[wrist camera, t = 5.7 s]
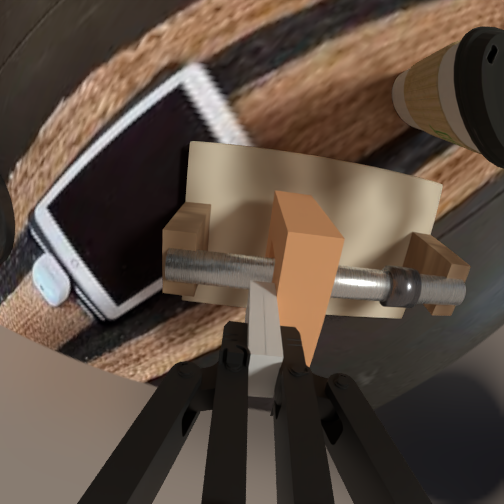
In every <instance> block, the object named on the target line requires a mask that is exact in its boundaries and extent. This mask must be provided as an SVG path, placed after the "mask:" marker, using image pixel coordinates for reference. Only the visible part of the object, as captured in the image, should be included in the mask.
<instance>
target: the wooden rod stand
mask: <svg viewBox="0 0 504 504" xmlns="http://www.w3.org/2000/svg"><path fill="white" fill-rule="evenodd" d="M442 187H443V185H442V184H440V183H437V182H434V181H430V180H426V179H423V178H419V177H415V176H411V175H407V174H403V173H399V172H395V171H390V170H386V169H381V168H377V167H372V166H368V165H363V164H358V163H353V162H348V161H343V160H337V159H332V158H326V157H320V156H315V155H308V154H302V153H296V152H289V151H282V150H275V149H267V148H259V147H250V146H241V145H232V144H221V143H210V142H197V141H192V142H190V149H189V160H188V173H187V187H186V202H185V203H184V204H183V205H182V207H181V208H180V209H179V210H178V211H177V213H176V214H175V215H174V216H173V218H172V219H171V220H170V221H169V222H168V224H167V225H166V226H165V227H164V229H163V246H162V273H163V293H169V294H176V295H182V300H186V301H193V302H201V303H210V304H218V305H227V306H236V307H246V308H247V301H248V294H249V290H245V289H236V288H227V287H218V286H209V285H201V284H193V283H185V282H177V281H169V280H166V277H165V262H166V256H167V252H168V250H169V248H174V249H183V250H192V251H196V250H205V251H214V252H223V253H232V254H241V255H250V256H259V257H265V255H266V248H267V241H268V234H269V228H270V221H271V214H272V207H273V200H274V193H275V190H276V191H284V192H291V193H299V194H306V195H311V196H312V197H313V198H314V199H315V201H316V202H317V203H318V204H319V206H320V207H321V208H322V209H323V211H324V212H325V213H326V215H327V216H328V217H329V219H330V220H331V221H332V222H333V224H334V225H335V226H336V228H337V229H338V230H339V232H340V233H341V234H342V236H343V237H344V238H345V240H344V244H343V249H342V253H341V257H340V261H339V265H341V266H350V267H360V268H369V269H378V270H382V269H383V268H384V267H385V266H387V265H390V266H398V267H407V268H415V269H416V270H417V271H418V272H419V274H425V275H435V276H444V277H446V278H452V279H462V280H463V281H464V283H465V281H466V278H467V275H468V273H469V270H470V267H471V266H470V265H468V264H467V263H466V262H465V261H463V260H462V259H461V258H460V257H458V256H457V255H456V254H455V253H453V252H452V251H451V250H450V249H448V248H447V247H446V246H444V245H443V244H442V243H441V242H439V241H438V240H437V239H435V238H434V237H433V236H431V235H430V234H431V231H432V227H433V223H434V220H435V216H436V212H437V208H438V204H439V200H440V196H441V191H442ZM423 305H424V306H425V307H426V308H427V310H428V311H429V312H430V313H431V315H444V316H451V314H452V312H453V310H454V308H455V305H438V304H423ZM404 311H405V308H399V307H383V306H382V305H381V304H380V303H379V301H369V300H355V299H342V298H330V300H329V303H328V307H327V310H326V314H327V315H342V316H359V317H379V318H402V316H403V313H404Z"/></svg>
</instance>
